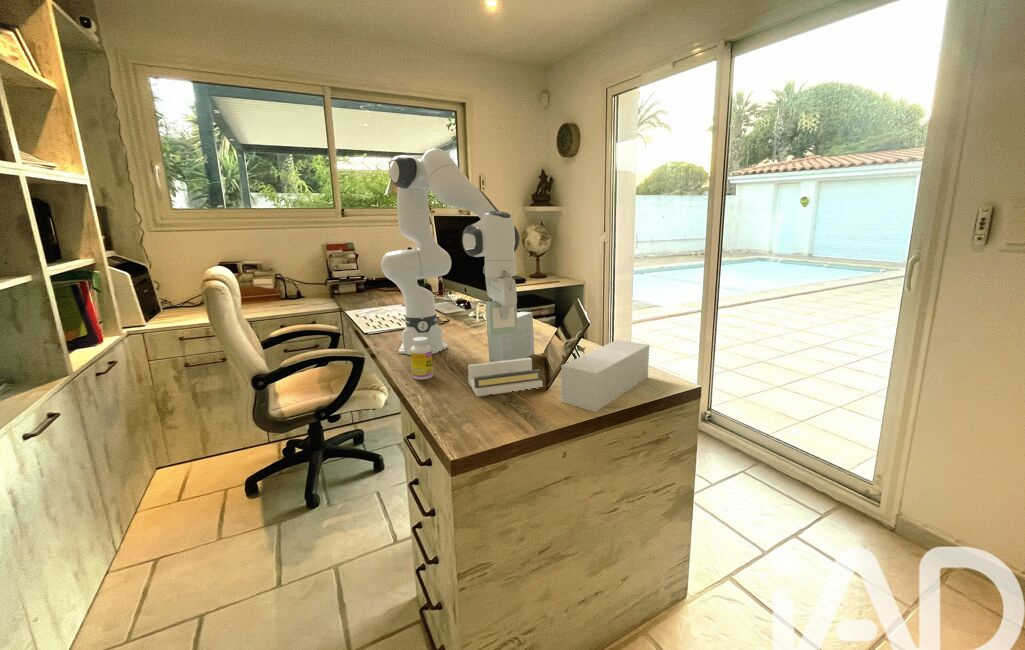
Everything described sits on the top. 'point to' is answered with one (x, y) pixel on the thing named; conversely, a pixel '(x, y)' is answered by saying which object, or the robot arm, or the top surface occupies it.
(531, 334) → the skincare box
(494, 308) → the product box
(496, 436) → the top surface
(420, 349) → the supplement bottle
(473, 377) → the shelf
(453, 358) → the top surface
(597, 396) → the stack of papers
